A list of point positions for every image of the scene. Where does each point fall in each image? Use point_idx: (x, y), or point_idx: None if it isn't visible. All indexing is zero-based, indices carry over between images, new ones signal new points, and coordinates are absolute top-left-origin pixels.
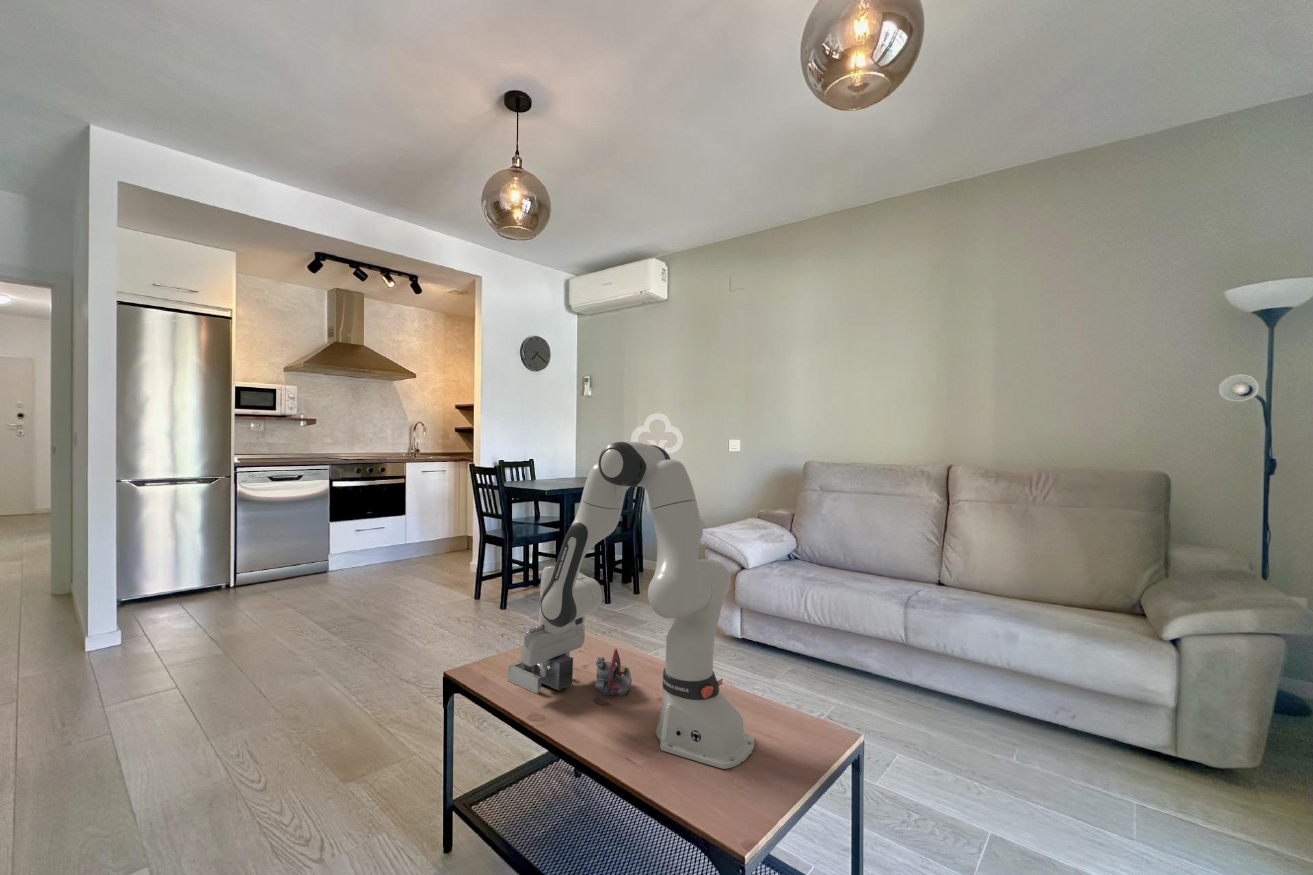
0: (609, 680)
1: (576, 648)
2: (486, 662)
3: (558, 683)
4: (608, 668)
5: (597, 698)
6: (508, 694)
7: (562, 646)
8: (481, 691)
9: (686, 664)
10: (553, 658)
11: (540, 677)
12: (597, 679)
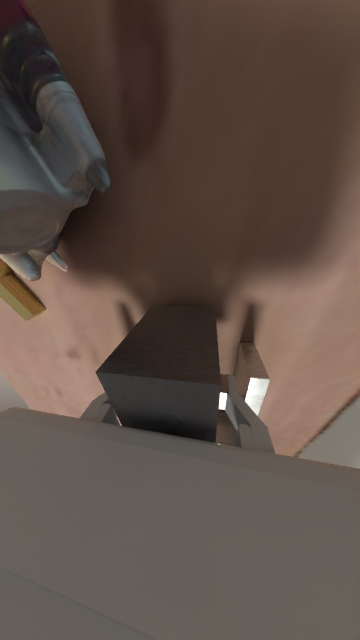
0: None
1: (39, 413)
2: None
3: (215, 317)
4: None
5: (134, 143)
6: (297, 387)
7: (104, 497)
8: (312, 427)
9: None
10: (190, 432)
11: (254, 378)
12: (67, 204)
